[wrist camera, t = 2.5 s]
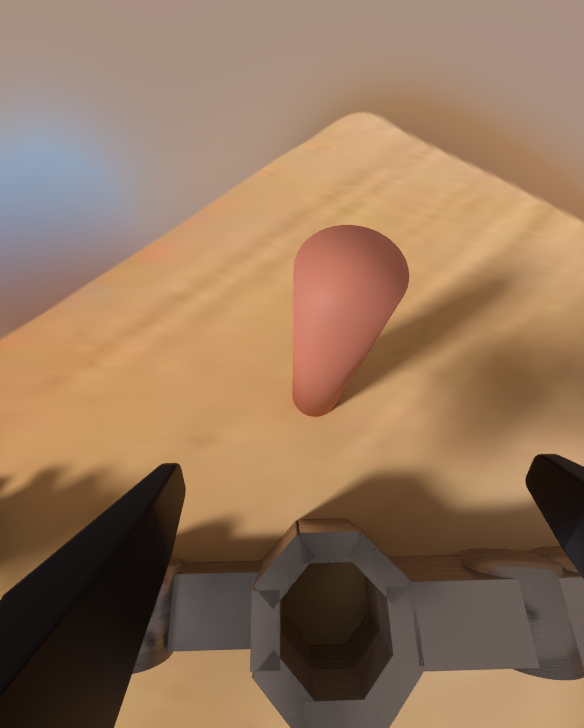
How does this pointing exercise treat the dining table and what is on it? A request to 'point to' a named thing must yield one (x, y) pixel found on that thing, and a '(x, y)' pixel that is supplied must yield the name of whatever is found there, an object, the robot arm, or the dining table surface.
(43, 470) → the dining table surface
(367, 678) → the grey jointed bar
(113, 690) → the robot arm
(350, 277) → the pin
